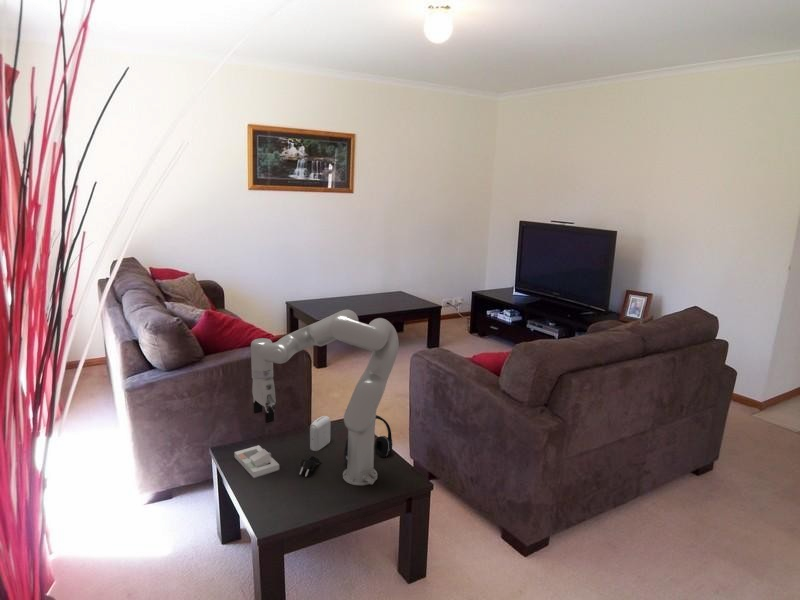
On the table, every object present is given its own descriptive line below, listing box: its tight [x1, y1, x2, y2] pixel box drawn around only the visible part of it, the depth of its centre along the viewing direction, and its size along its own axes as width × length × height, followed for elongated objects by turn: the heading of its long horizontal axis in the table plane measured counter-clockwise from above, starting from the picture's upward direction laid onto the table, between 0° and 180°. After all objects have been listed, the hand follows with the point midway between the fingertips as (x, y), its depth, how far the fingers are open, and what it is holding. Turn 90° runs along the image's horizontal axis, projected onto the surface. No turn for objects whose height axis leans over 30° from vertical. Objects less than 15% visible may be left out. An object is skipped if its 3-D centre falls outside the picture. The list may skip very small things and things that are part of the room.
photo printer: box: [309, 415, 331, 452], centre depth 219 cm, size 10×4×12 cm, turn 152°
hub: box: [234, 444, 280, 479], centre depth 205 cm, size 18×10×3 cm, turn 38°
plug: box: [250, 448, 272, 468], centre depth 201 cm, size 4×4×7 cm
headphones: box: [343, 414, 393, 464], centre depth 209 cm, size 20×7×18 cm, turn 126°
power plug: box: [297, 454, 323, 477], centre depth 201 cm, size 6×8×12 cm
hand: (263, 417), depth 198 cm, fingers open, 9 cm apart
